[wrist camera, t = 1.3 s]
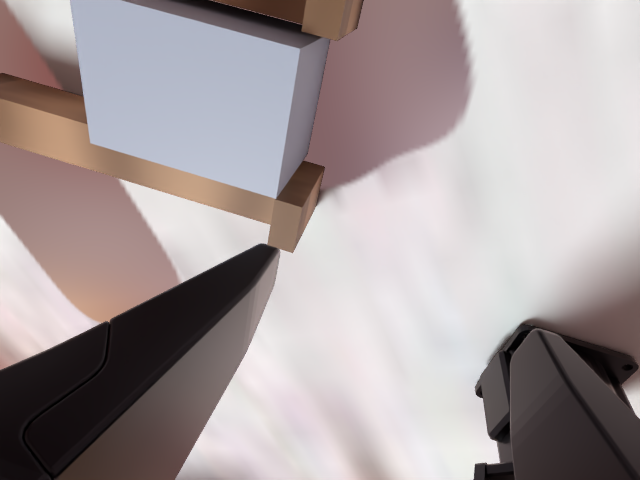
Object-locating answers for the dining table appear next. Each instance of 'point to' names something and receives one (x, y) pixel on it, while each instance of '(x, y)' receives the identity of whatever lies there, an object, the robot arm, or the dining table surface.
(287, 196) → the chute
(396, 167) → the dining table surface
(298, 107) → the block
